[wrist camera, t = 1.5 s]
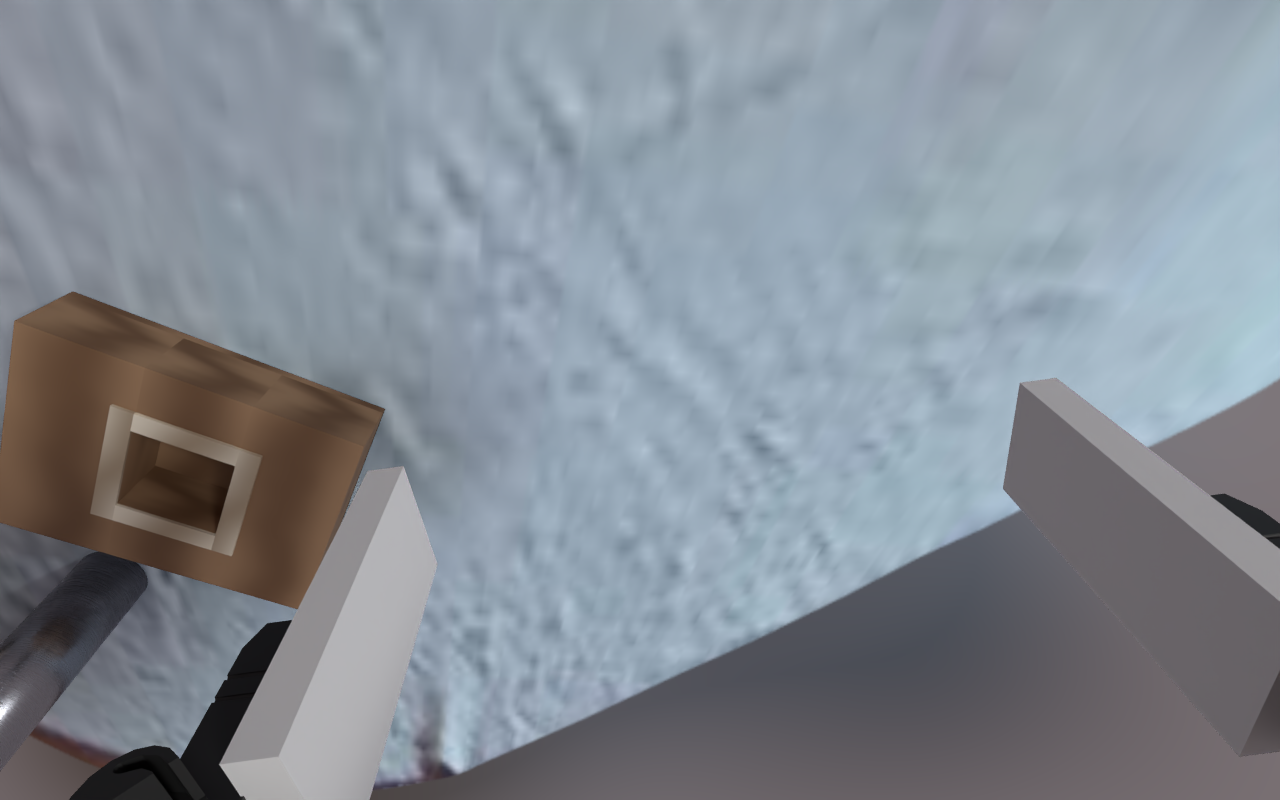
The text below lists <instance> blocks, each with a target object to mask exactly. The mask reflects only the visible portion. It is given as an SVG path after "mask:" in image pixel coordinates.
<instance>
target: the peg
mask: <svg viewBox="0 0 1280 800" xmlns="http://www.w3.org/2000/svg"><path fill="white" fill-rule="evenodd" d="M147 583H148V582H147V576H146V574H145V572H144V570H143V569H142V568H141V567H140V566H139V565H138V564H137V563H136V562H134V561H130V560H127V559H123V558H120V557H117V556H113V555H110V554H106V553H103V552H96V553H92V554H90V555H88V556H86V557H85V558H84V559H83V560H82V561H81V562H80V563H79V564H78V565H77V566H76V567H75V568H74V569H73V570H72V571H71V572H70V573H69V574H68V575H67V576H66V577H65V578H64V580H63V581H62V582H61V583H60V584H59V585H58V586H57V587H56V588H55V589H54V590H53V591H52V592H51V593H50V594H49V595H48V596H47V597H46V598H45V599H44V600H43V601H42V602H41V603H40V604H39V605H38V607H37V608H36V609H35V610H34V611H33V612H32V613H31V614H30V615H29V616H28V617H27V618H26V619H25V620H24V621H23V622H22V623H21V624H20V625H19V626H18V627H17V628H16V629H15V630H14V631H13V633H12V634H11V635H10V636H9V637H8V638H7V639H6V640H5V641H4V642H3V643H2V644H1V645H0V771H1V770H2V768H3V767H4V766H5V765H6V763H7V762H8V761H9V760H10V758H11V757H12V755H14V753H15V752H16V751H17V750H18V748H19V747H20V746H21V745H22V743H23V742H24V741H25V740H26V738H27V737H28V736H29V735H30V733H31V732H32V731H33V730H34V728H35V727H36V726H37V725H38V723H39V722H40V721H41V720H42V718H43V717H44V716H45V715H46V713H47V712H48V711H49V710H50V708H51V707H52V706H53V705H54V703H55V702H56V701H57V700H58V698H59V697H60V696H61V695H62V693H63V692H64V691H65V690H66V688H67V687H68V686H69V685H70V683H71V682H72V681H73V680H74V678H75V677H76V676H77V675H78V673H79V672H80V671H81V670H82V668H83V667H84V666H85V665H86V663H87V662H88V661H89V660H90V658H91V657H92V656H93V655H94V653H95V652H96V651H97V650H98V648H99V647H100V646H101V645H102V643H103V642H104V641H105V640H106V638H107V637H108V636H109V635H110V633H111V632H112V631H113V630H114V628H115V627H116V626H117V625H118V623H119V622H120V621H121V620H122V618H123V617H124V616H125V615H126V613H127V612H128V611H129V610H130V608H131V607H132V606H133V605H134V603H135V602H136V601H137V600H138V598H139V597H140V596H141V595H142V593H143V592H144V591H145V589H146V587H147Z"/></svg>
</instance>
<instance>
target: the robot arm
mask: <svg viewBox="0 0 1280 800" xmlns="http://www.w3.org/2000/svg"><path fill="white" fill-rule="evenodd" d="M1003 489H1004V490H1005V492H1006V493H1007V494H1008V495H1009V496H1010V497H1011V498H1012V500H1013V501H1014V502H1015V503H1016V504H1017V505H1018V506H1019V508H1020V509H1021V510H1022V511H1023V512H1024V513H1025V514H1026V515H1027V516H1028V518H1029V519H1030V520H1031V521H1032V522H1033V523H1034V525H1035V526H1036V527H1037V528H1038V529H1039V530H1040V531H1041V532H1042V534H1043V535H1044V536H1045V537H1046V538H1047V539H1048V540H1049V542H1050V543H1051V544H1052V545H1053V546H1054V547H1055V548H1056V549H1057V551H1058V552H1059V553H1060V554H1061V555H1062V556H1063V557H1064V559H1066V561H1067V562H1068V563H1069V564H1070V565H1071V567H1072V568H1073V569H1074V570H1075V571H1076V572H1077V573H1078V574H1079V575H1080V577H1081V578H1082V579H1083V580H1084V581H1085V582H1086V584H1087V585H1088V586H1089V587H1090V588H1091V589H1092V590H1093V591H1094V593H1095V594H1096V595H1097V596H1098V597H1099V598H1100V599H1101V601H1102V602H1103V603H1104V604H1105V605H1106V606H1107V607H1108V609H1109V610H1110V611H1111V612H1112V613H1113V614H1114V615H1115V616H1116V617H1117V619H1118V620H1119V621H1120V622H1121V623H1122V624H1123V626H1124V627H1125V628H1126V629H1127V630H1128V631H1129V632H1130V633H1131V635H1132V636H1133V637H1134V638H1135V639H1136V640H1137V641H1138V643H1139V644H1140V645H1141V646H1142V647H1143V648H1144V649H1145V650H1146V652H1147V653H1148V654H1149V655H1150V656H1151V657H1152V658H1153V660H1154V661H1155V662H1156V663H1157V664H1158V665H1159V666H1160V667H1161V669H1162V670H1163V671H1164V672H1165V673H1166V674H1167V675H1168V677H1169V678H1170V679H1171V680H1172V681H1173V682H1174V683H1175V685H1176V686H1177V687H1178V688H1179V689H1180V690H1181V691H1182V692H1183V694H1184V695H1185V696H1186V697H1187V698H1188V699H1189V700H1190V702H1191V703H1192V704H1193V705H1194V706H1195V707H1196V708H1197V710H1198V711H1199V712H1200V713H1201V714H1202V715H1203V716H1204V717H1205V719H1206V720H1207V721H1208V722H1209V723H1210V724H1211V725H1212V726H1213V728H1214V729H1215V730H1216V731H1217V732H1218V733H1219V735H1220V736H1221V737H1222V738H1223V739H1224V740H1225V741H1226V742H1227V744H1228V745H1229V746H1230V747H1231V748H1232V749H1233V750H1234V751H1235V753H1236V754H1237V755H1238V756H1239V757H1241V756H1248V755H1256V754H1264V753H1272V752H1279V751H1280V524H1279V523H1278V522H1277V521H1275V520H1274V519H1273V518H1271V517H1270V516H1269V515H1267V514H1266V513H1264V512H1263V511H1261V510H1259V509H1257V508H1255V507H1253V506H1251V505H1248V504H1246V503H1244V502H1242V501H1240V500H1237V499H1235V498H1233V497H1231V496H1229V495H1226V494H1218V495H1211V496H1210V495H1208V494H1207V493H1206V492H1204V491H1203V490H1202V489H1201V488H1199V487H1198V486H1197V485H1195V484H1194V483H1193V482H1191V481H1190V480H1189V479H1187V478H1186V477H1185V476H1184V475H1182V474H1181V473H1180V472H1178V471H1177V470H1176V469H1174V468H1173V467H1172V466H1171V465H1169V464H1168V463H1166V462H1165V461H1164V460H1163V459H1161V458H1160V457H1159V456H1157V455H1156V454H1155V453H1153V452H1152V451H1151V450H1150V449H1148V448H1147V447H1146V446H1144V445H1143V444H1142V443H1140V442H1139V441H1138V440H1137V439H1135V438H1134V437H1133V436H1131V435H1130V434H1129V433H1127V432H1126V431H1125V430H1123V429H1122V428H1121V427H1120V426H1118V425H1117V424H1116V423H1114V422H1113V421H1112V420H1110V419H1109V418H1108V417H1107V416H1105V415H1104V414H1103V413H1101V412H1100V411H1099V410H1097V409H1096V408H1095V407H1093V406H1092V405H1091V404H1090V403H1088V402H1087V401H1086V400H1084V399H1083V398H1082V397H1080V396H1079V395H1078V394H1076V393H1075V392H1074V391H1073V390H1071V389H1070V388H1069V387H1067V386H1066V385H1065V384H1063V383H1062V382H1061V381H1059V380H1058V379H1057V378H1052V379H1045V380H1037V381H1030V382H1023V383H1020V386H1019V392H1018V398H1017V404H1016V411H1015V417H1014V423H1013V429H1012V435H1011V442H1010V448H1009V454H1008V460H1007V466H1006V473H1005V479H1004V485H1003ZM436 568H437V562H436V559H435V556H434V553H433V550H432V547H431V544H430V541H429V538H428V536H427V533H426V530H425V527H424V524H423V521H422V518H421V515H420V512H419V509H418V507H417V504H416V501H415V498H414V495H413V492H412V489H411V486H410V483H409V481H408V478H407V475H406V472H405V469H404V466H400V467H393V468H386V469H378V470H371V471H367V473H366V475H365V477H364V479H363V481H362V483H361V485H360V487H359V489H358V491H357V493H356V495H355V497H354V499H353V501H352V503H351V505H350V507H349V509H348V511H347V513H346V515H345V517H344V519H343V521H342V523H341V525H340V527H339V529H338V531H337V533H336V535H335V537H334V539H333V541H332V543H331V545H330V547H329V549H328V551H327V553H326V554H325V556H324V558H323V560H322V562H321V564H320V566H319V568H318V570H317V572H316V574H315V576H314V578H313V580H312V582H311V584H310V586H309V588H308V590H307V592H306V594H305V596H304V598H303V600H302V602H301V604H300V606H299V608H298V610H297V612H296V614H295V616H294V618H293V620H289V621H282V622H274V623H267V624H266V625H265V626H264V627H263V628H262V629H261V630H260V631H259V632H258V633H257V634H256V635H255V636H254V637H253V638H252V639H251V640H250V641H249V642H248V643H247V644H246V645H245V646H244V647H243V648H242V650H241V652H240V654H239V655H238V657H237V659H236V661H235V662H234V664H233V666H232V668H231V670H230V671H229V673H228V675H227V676H228V679H227V680H224V682H223V684H222V686H221V687H220V689H219V691H218V693H217V694H216V696H215V703H211V705H210V707H209V709H208V710H207V712H206V714H205V716H204V718H203V719H202V721H201V723H200V725H199V726H198V728H197V730H196V732H195V734H194V735H193V737H192V739H191V741H190V742H189V744H188V746H187V748H186V750H185V751H184V753H183V755H182V757H181V758H180V759H179V757H178V756H177V755H176V754H175V753H174V752H173V751H172V750H171V749H170V748H168V747H161V746H155V745H154V746H149V747H145V748H140V749H136V750H133V751H131V752H129V753H127V754H125V755H123V756H120V757H118V758H116V759H114V760H112V761H111V762H109V763H108V764H107V765H105V766H104V767H102V768H101V769H100V770H98V771H97V772H96V773H94V774H93V775H92V776H90V777H89V778H88V779H87V780H86V781H85V783H84V784H83V785H82V786H81V787H80V788H79V789H78V790H77V791H76V792H75V793H74V794H73V795H72V796H71V798H70V800H369V799H370V796H371V793H372V789H373V786H374V782H375V779H376V775H377V772H378V768H379V765H380V761H381V758H382V755H383V751H384V748H385V744H386V741H387V737H388V734H389V730H390V727H391V723H392V720H393V717H394V713H395V710H396V706H397V703H398V699H399V696H400V692H401V689H402V685H403V682H404V678H405V675H406V672H407V668H408V665H409V661H410V658H411V654H412V651H413V647H414V644H415V640H416V637H417V634H418V630H419V627H420V623H421V620H422V616H423V613H424V609H425V606H426V602H427V599H428V595H429V592H430V589H431V585H432V582H433V578H434V575H435V571H436Z"/></svg>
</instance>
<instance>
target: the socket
mask: <svg viewBox="0 0 1280 800" xmlns="http://www.w3.org/2000/svg"><path fill="white" fill-rule="evenodd" d="M384 410H385V409H384V408H381V407H378V406H376V405H373V404H370V403H368V402H365V401H362V400H360V399H357V398H354V397H352V396H349V395H346V394H344V393H341V392H338V391H336V390H333V389H330V388H328V387H325V386H323V385H320V384H317V383H315V382H312V381H309V380H307V379H304V378H301V377H299V376H296V375H293V374H291V373H288V372H285V371H283V370H280V369H277V368H275V367H272V366H269V365H267V364H264V363H261V362H259V361H256V360H253V359H251V358H248V357H246V356H243V355H240V354H238V353H235V352H232V351H230V350H227V349H224V348H222V347H219V346H216V345H214V344H211V343H208V342H206V341H203V340H200V339H198V338H195V337H192V336H190V335H187V334H184V333H182V332H179V331H176V330H174V329H171V328H168V327H166V326H163V325H161V324H158V323H155V322H153V321H150V320H147V319H145V318H142V317H139V316H137V315H134V314H131V313H129V312H126V311H123V310H121V309H118V308H115V307H113V306H110V305H107V304H105V303H102V302H99V301H97V300H94V299H91V298H89V297H86V296H83V295H81V294H78V293H76V292H71V293H69V294H67V295H65V296H63V297H61V298H59V299H57V300H55V301H53V302H51V303H49V304H47V305H45V306H43V307H41V308H39V309H37V310H35V311H33V312H31V313H29V314H27V315H25V316H23V317H21V318H19V319H17V320H15V321H14V330H13V339H12V349H11V358H10V367H9V376H8V386H7V395H6V404H5V413H4V422H3V432H2V441H1V450H0V523H3V524H7V525H10V526H14V527H17V528H20V529H24V530H27V531H31V532H34V533H38V534H41V535H44V536H48V537H51V538H55V539H58V540H62V541H65V542H68V543H72V544H75V545H79V546H82V547H86V548H89V549H93V550H96V551H99V552H103V553H106V554H110V555H113V556H117V557H120V558H123V559H127V560H130V561H134V562H137V563H141V564H144V565H148V566H151V567H154V568H158V569H161V570H165V571H168V572H172V573H175V574H178V575H182V576H185V577H189V578H192V579H196V580H199V581H202V582H206V583H209V584H213V585H216V586H220V587H223V588H227V589H230V590H233V591H237V592H240V593H244V594H247V595H251V596H254V597H257V598H261V599H264V600H268V601H271V602H275V603H278V604H281V605H285V606H288V607H292V608H295V609H298V608H299V606H300V604H301V602H302V600H303V598H304V596H305V594H306V592H307V590H308V588H309V586H310V584H311V582H312V580H313V578H314V576H315V574H316V572H317V570H318V568H319V566H320V564H321V562H322V560H323V558H324V556H325V554H326V553H327V551H328V549H329V547H330V545H331V543H332V541H333V539H334V537H335V535H336V533H337V531H338V529H339V527H340V525H341V522H342V520H343V517H344V514H345V512H346V509H347V507H348V504H349V501H350V499H351V496H352V494H353V491H354V488H355V486H356V483H357V481H358V478H359V475H360V473H361V470H362V468H363V465H364V462H365V460H366V457H367V455H368V452H369V449H370V447H371V444H372V442H373V439H374V436H375V434H376V431H377V429H378V426H379V423H380V421H381V418H382V416H383V413H384Z"/></svg>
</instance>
